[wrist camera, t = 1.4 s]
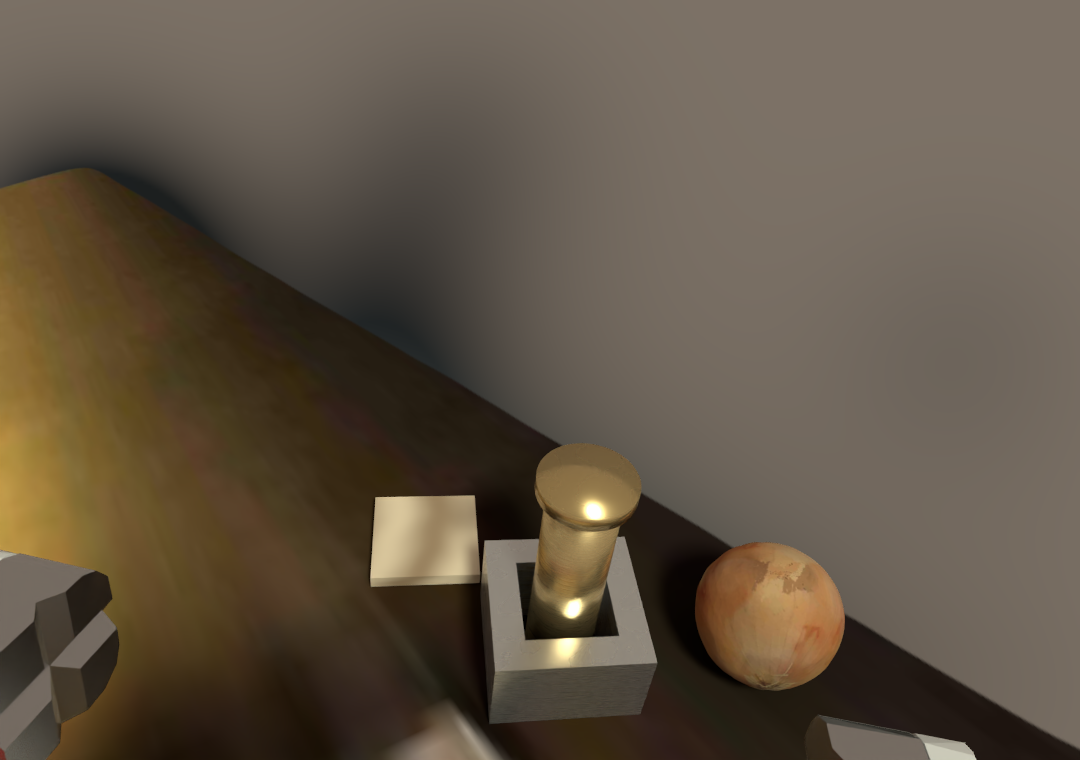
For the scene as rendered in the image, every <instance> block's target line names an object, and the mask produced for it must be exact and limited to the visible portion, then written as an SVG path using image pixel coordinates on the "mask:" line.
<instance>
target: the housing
mask: <svg viewBox="0 0 1080 760" xmlns="http://www.w3.org/2000/svg"><path fill="white" fill-rule="evenodd" d="M538 543H539V539H527V540H489V541H485V544H484V555H483V567H482V579H481V591H480V598H481V612H482V627H483V641H484V655H485V670H486V684H487V699H488V713H489V724H491V723H507V722H523V721H539V720H555V719H570V718H586V717H602V716H618V715H634V714H640V713H641V710H642V707H643V704H644V701H645V698H646V695H647V692H648V689H649V686H650V683H651V680H652V677H653V675H654V672H655V669H656V666H657V660H656V656H655V652H654V648H653V644H652V640H651V637H650V633H649V629H648V625H647V621H646V617H645V614H644V610H643V606H642V602H641V598H640V594H639V591H638V587H637V583H636V579H635V575H634V571H633V568H632V564H631V560H630V556H629V552H628V548H627V545H626V541H625V537H617V539H616V543H615V548H614V552H613V556H612V560H611V564H610V568H609V572H608V577H607V581H606V585H605V589H604V593H603V597H602V601H601V605H600V610H599V614H598V618H597V622H596V626H595V630H594V634H595V637H588V638H567V639H545V640H525V636H524V627H523V618H522V615H528V610H529V603H530V597H531V590H532V583H533V577H534V570H535V563H536V556H537V550H538Z"/></svg>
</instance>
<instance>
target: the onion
mask: <svg viewBox="0 0 1080 760" xmlns="http://www.w3.org/2000/svg"><path fill="white" fill-rule="evenodd" d="M695 619H696V623H697V629H698V632H699V635H700V638H701V640H702V642H703V644H704V647H705V649H706V651H707V653H708V654H709V656H710V657H711V659H712V660H713V661H714V662H715V663H716V665H717V666H718V667H720V668H721V669H722V670H723V671H724V672H725V673H727V674H728V675H730V676H731V677H733V678H734V679H736V680H738V681H740V682H741V683H744V684H746V685H748V686H750V687H753V688H756V689H760V690H773V691H778V690H783V689H789V688H793V687H796V686H799V685H801V684H804V683H806V682H808V681H810V680H811V679H813V678H815V677H816V676H817V675H819V674H820V673H821V672H822V671H824V670H825V669H826V667H827V666H828V665H829V663H830V662H831V660H832V659H833V657H834V656H835V654H836V652H837V650H838V648H839V646H840V643H841V640H842V637H843V632H844V624H845V616H844V609H843V605H842V601H841V598H840V595H839V592H838V590H837V588H836V586H835V584H834V582H833V581H832V579H831V578H830V576H829V575H828V574H827V573H826V571H825V570H824V569H823V568H822V567H821V566H820V565H819V564H818V563H817V562H815V561H814V560H813V559H811V558H810V557H809V556H807V555H805V554H804V553H802V552H800V551H798V550H797V549H795V548H792V547H789V546H786V545H781V544H778V543H771V542H770V543H769V542H765V543H759V542H754V543H748V544H745V545H742V546H738V547H735V548H732V549H730V550H728V551H727V552H725V553H724V554H722V555H721V556H720V557H719V558H718V559H717V560H715V561H714V562H713V563H712V564H711V565H710V566H709V567H708V568H707V569H706V571H705V573H704V575H703V577H702V579H701V581H700V583H699V585H698V589H697V594H696V602H695Z"/></svg>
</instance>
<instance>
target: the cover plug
mask: <svg viewBox="0 0 1080 760" xmlns="http://www.w3.org/2000/svg"><path fill="white" fill-rule="evenodd" d="M640 493H641V481H640V477H639V475H638V473H637V471H636V469H635V468H634V467H633V465H632V464H631V463H630V462H629V461H628V460H627V459H626V458H624V457H623V456H622V455H620V454H618V453H617V452H615V451H613V450H610V449H608V448H605V447H602V446H598V445H594V444H584V443H578V444H569V445H565V446H561V447H559V448H556V449H554V450H552V451H551V452H549V453H548V454H547V455H546V456H545V457H544V458H543V459H542V460H541V462H540V464H539V465H538V469H537V474H536V481H535V494H536V498H537V500H538V503H539V504H540V506H541V507H542V509H543V516H542V523H541V530H540V536H539V543H538V550H537V556H536V563H535V570H534V577H533V583H532V590H531V597H530V603H529V610H528V617H527V623H526V630H525V640H545V639H567V638H588V637H593V634H594V630H595V626H596V622H597V618H598V614H599V610H600V605H601V601H602V597H603V593H604V589H605V585H606V581H607V577H608V572H609V568H610V564H611V560H612V556H613V552H614V548H615V543H616V539H617V535H618V531H619V527H620V526H621V525H622V524H624V523H625V522H627V521H628V520H629V519H630V518H631V517H632V516H633V514H634V512H635V511H636V508H637V505H638V501H639V497H640Z"/></svg>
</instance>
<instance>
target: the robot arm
mask: <svg viewBox="0 0 1080 760" xmlns="http://www.w3.org/2000/svg"><path fill="white" fill-rule="evenodd" d="M111 600H112V594H111V590H110V585H109V580H108V576H106V575H104V574H102V573H100V572H97V571H94V570H90V569H86V568H81V567H77V566H73V565H68V564H64V563H60V562H55V561H51V560H46V559H42V558H38V557H33V556H29V555H25V554H16V553H12V552H8V551H3V550H0V760H46V758H47V757H48V756H49V755H50V754H51V753H52V751H53V750H54V749H55V748H56V747H57V746H58V744H59V743H60V734H61V723H63V722H65V721H67V720H69V719H71V718H73V717H75V716H77V715H79V714H81V713H83V712H85V711H87V710H88V709H89V708H90V707H91V705H92V704H93V703H94V702H95V700H96V699H97V698H98V697H99V696H100V694H101V693H102V692H103V691H104V689H105V687H106V685H107V683H108V681H109V679H110V677H111V675H112V672H113V670H114V668H115V666H116V663H117V656H118V650H119V639H118V632H117V627H116V626H115V625H114V624H113V623H112V621H111V620H110V619H109V618H108V617H107V615H106V614H105V613H104V612H103V611H102V610H103V609H104V608H105V607H106V606H107V604H108V603H109V602H110V601H111ZM804 741H805V747H806V752H807V758H808V760H976V758H975V756H974V753H973V752H972V751H971V750H970V748H969V747H968V746H967V745H966V744H965V743H962V742H957V741H952V740H946V739H941V738H936V737H931V736H925V735H920V734H910V733H909V732H904V731H899V730H894V729H888V728H883V727H878V726H873V725H867V724H862V723H857V722H852V721H846V720H841V719H836V718H831V717H825V716H820V715H817V717H816V718H815V719H814V720H813V721H812V722H811V723H810V726H809V728H808V731H807V734H806V736H805V739H804Z"/></svg>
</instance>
